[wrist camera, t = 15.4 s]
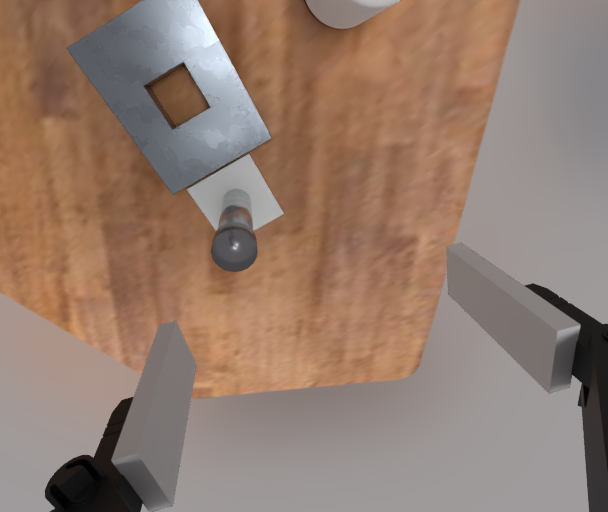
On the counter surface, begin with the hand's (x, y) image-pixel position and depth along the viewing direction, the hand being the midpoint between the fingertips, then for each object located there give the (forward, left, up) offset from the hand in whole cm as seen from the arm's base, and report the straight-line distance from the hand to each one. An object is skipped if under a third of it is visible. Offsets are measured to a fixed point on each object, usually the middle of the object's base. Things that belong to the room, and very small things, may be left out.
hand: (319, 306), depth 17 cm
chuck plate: (-12, -4, -27) cm, 30 cm away
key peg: (0, -5, -26) cm, 27 cm away
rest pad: (0, -5, -27) cm, 27 cm away
